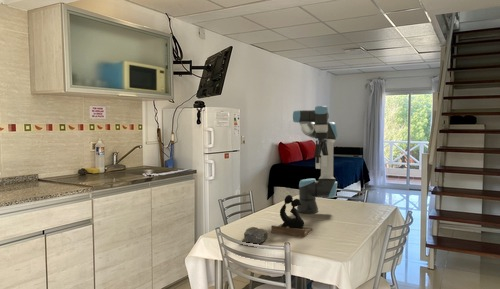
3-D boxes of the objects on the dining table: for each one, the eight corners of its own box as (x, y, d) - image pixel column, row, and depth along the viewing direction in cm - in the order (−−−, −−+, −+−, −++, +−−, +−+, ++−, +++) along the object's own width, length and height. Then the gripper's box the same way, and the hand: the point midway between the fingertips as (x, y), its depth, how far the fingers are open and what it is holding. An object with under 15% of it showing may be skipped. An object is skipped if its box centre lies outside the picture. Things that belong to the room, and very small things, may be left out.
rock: (261, 246, 192) (270, 238, 206) (261, 234, 192) (270, 227, 205) (238, 243, 196) (249, 235, 210) (239, 231, 196) (249, 224, 210)
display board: (281, 226, 228) (281, 219, 227) (312, 230, 218) (312, 222, 218) (271, 232, 214) (271, 225, 214) (304, 237, 205) (304, 229, 205)
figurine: (279, 230, 214) (278, 196, 213) (281, 226, 222) (281, 193, 221) (303, 231, 211) (303, 197, 209) (305, 227, 219) (304, 194, 218)
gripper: (321, 131, 233) (321, 164, 234) (308, 132, 211) (308, 169, 212) (332, 131, 230) (333, 165, 231) (321, 132, 208) (321, 169, 209)
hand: (321, 167), depth 222 cm, fingers open, 13 cm apart
